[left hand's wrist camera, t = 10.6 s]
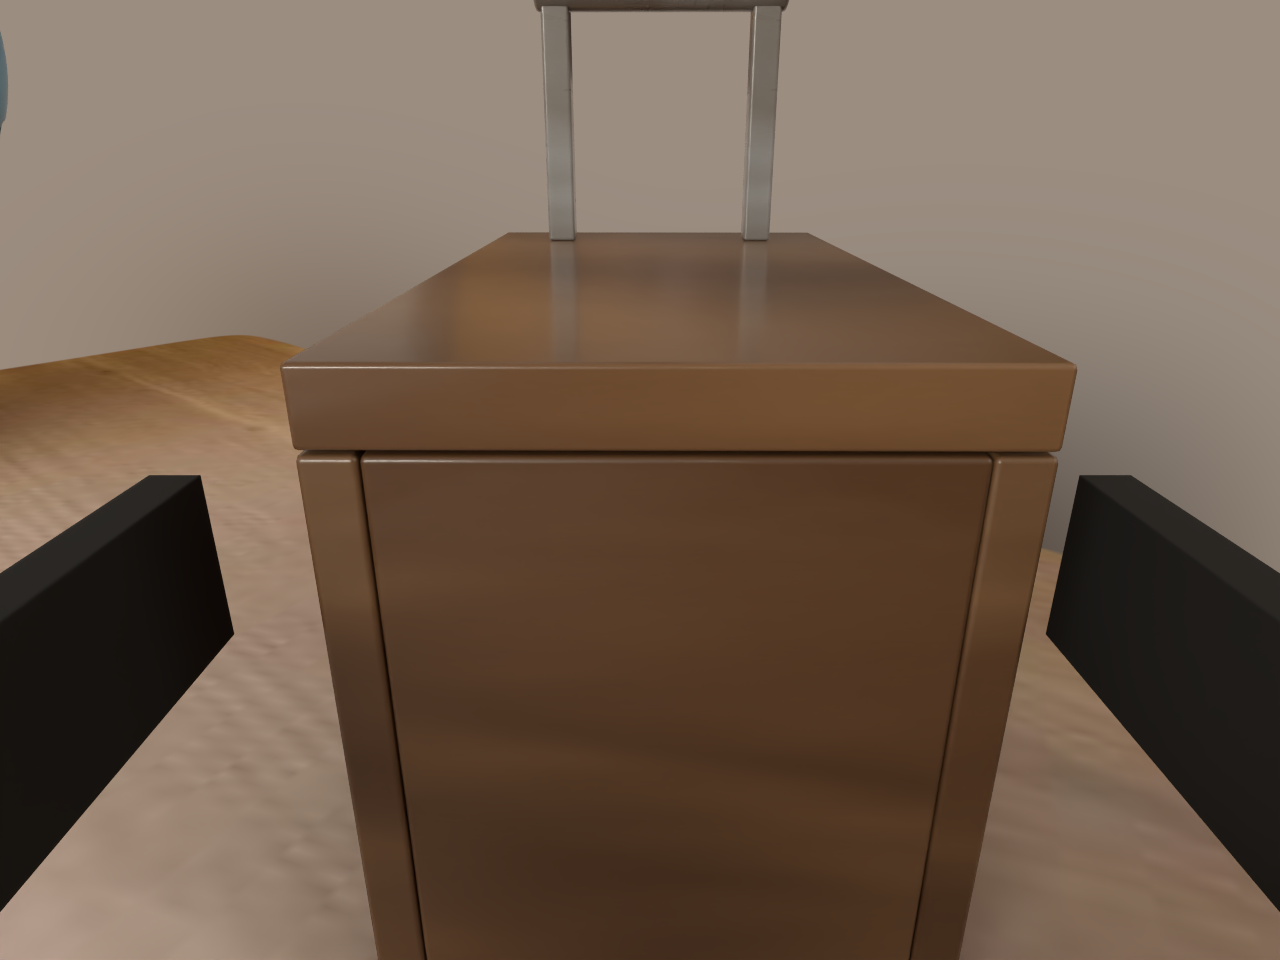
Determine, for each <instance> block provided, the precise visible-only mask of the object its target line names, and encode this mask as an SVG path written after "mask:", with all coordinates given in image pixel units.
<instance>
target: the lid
mask: <svg viewBox="0 0 1280 960" xmlns="http://www.w3.org/2000/svg"><path fill="white" fill-rule="evenodd" d="M788 2H789V0H534V4H535V7H536V10H537V11H538V12H541V32H542V58H543V83H544V109H545V134H546V160H547V186H548V211H549V233H507V234H505V235H503V236H502V237H500V238H498V239H497V240H495V241H493V242H491V243H490V244H488V245H486V246H484V247H483V248H481V249H479V250H478V251H476V252H474V253H472V254H470V255H469V256H467V257H465V258H464V259H462V260H460V261H458V262H457V263H455V264H453V265H451V266H450V267H448V268H446V269H444V270H443V271H441V272H439V273H438V274H436V275H434V276H432V277H431V278H429V279H427V280H425V281H424V282H422V283H420V284H418V285H417V286H415V287H413V288H411V289H410V290H408V291H406V292H405V293H403V294H401V295H399V296H398V297H396V298H394V299H392V300H391V301H389V302H387V303H385V304H384V305H382V306H380V307H378V308H377V309H375V310H373V311H372V312H370V313H368V314H366V315H365V316H363V317H361V318H359V319H358V320H356V321H354V322H352V323H351V324H349V325H347V326H346V327H344V328H342V329H340V330H339V331H337V332H335V333H333V334H332V335H330V336H328V337H327V338H325V339H323V340H321V341H320V342H318V343H316V344H314V345H313V346H311V347H309V348H307V349H306V350H304V351H302V352H300V353H299V354H297V355H295V356H293V357H292V358H290V359H288V360H286V361H285V362H283V363H282V364H281V367H280V370H281V376H282V382H283V388H284V394H285V400H286V406H287V412H288V418H289V424H290V430H291V436H292V443H293V447H294V448H295V449H297V450H466V451H907V452H1056V451H1060V449H1061V448H1062V444H1063V439H1064V434H1065V429H1066V424H1067V419H1068V414H1069V408H1070V404H1071V399H1072V394H1073V388H1074V384H1075V379H1076V374H1077V366H1076V364H1073V363H1072V362H1069V361H1067V360H1065V359H1063V358H1061V357H1059V356H1057V355H1055V354H1053V353H1051V352H1049V351H1047V350H1045V349H1043V348H1041V347H1039V346H1037V345H1035V344H1033V343H1031V342H1029V341H1027V340H1025V339H1023V338H1021V337H1019V336H1017V335H1015V334H1012V333H1010V332H1008V331H1006V330H1004V329H1002V328H1000V327H998V326H996V325H994V324H992V323H990V322H988V321H986V320H984V319H982V318H980V317H978V316H976V315H974V314H972V313H970V312H968V311H966V310H964V309H962V308H959V307H957V306H955V305H953V304H951V303H949V302H947V301H945V300H943V299H941V298H939V297H937V296H935V295H933V294H931V293H929V292H927V291H925V290H923V289H921V288H919V287H917V286H915V285H913V284H911V283H909V282H907V281H905V280H903V279H900V278H898V277H896V276H894V275H892V274H890V273H888V272H886V271H884V270H882V269H880V268H878V267H876V266H874V265H872V264H870V263H868V262H866V261H864V260H862V259H860V258H858V257H856V256H854V255H852V254H850V253H848V252H846V251H843V250H841V249H839V248H837V247H835V246H833V245H831V244H829V243H827V242H825V241H823V240H821V239H819V238H817V237H815V236H813V235H811V234H809V233H769V228H770V210H771V192H772V174H773V156H774V138H775V120H776V102H777V84H778V66H779V49H780V31H781V13H782V12H783V11H785V10H786V8H787V5H788ZM571 12H751V24H750V46H749V69H748V93H747V115H746V138H745V161H744V184H743V206H742V229H741V233H577V231H576V195H575V158H574V122H573V85H572V48H571Z"/></svg>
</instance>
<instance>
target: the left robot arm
mask: <svg viewBox="0 0 1280 960" xmlns="http://www.w3.org/2000/svg"><path fill="white" fill-rule="evenodd" d="M233 635H234V631H233V626H232V622H231V617H230V612H229V607H228V603H227V598H226V593H225V589H224V584H223V579H222V574H221V570H220V565H219V560H218V556H217V551H216V546H215V542H214V537H213V532H212V527H211V523H210V518H209V513H208V509H207V504H206V499H205V495H204V490H203V485H202V480H201V476H200V475H149V476H147V477H146V478H144V479H143V480H141V481H140V482H138V483H137V484H135V485H134V486H132V487H131V488H129V489H128V490H126V491H125V492H123V493H122V494H120V495H119V496H117V497H116V498H114V499H112V500H111V501H109V502H108V503H106V504H105V505H103V506H102V507H100V508H99V509H97V510H96V511H94V512H93V513H91V514H90V515H88V516H87V517H85V518H84V519H82V520H81V521H79V522H78V523H76V524H75V525H73V526H71V527H70V528H68V529H67V530H65V531H64V532H62V533H61V534H59V535H58V536H56V537H55V538H53V539H52V540H50V541H49V542H47V543H46V544H44V545H43V546H41V547H40V548H38V549H37V550H35V551H34V552H32V553H30V554H29V555H27V556H26V557H24V558H23V559H21V560H20V561H18V562H17V563H15V564H14V565H12V566H11V567H9V568H8V569H6V570H5V571H3V572H2V573H0V912H1V910H2V909H3V908H4V907H5V906H6V904H7V903H8V902H9V901H10V900H11V899H12V897H13V896H14V895H15V894H16V893H17V891H18V890H19V889H20V888H21V887H22V885H23V884H24V883H25V882H26V881H27V880H28V878H29V877H30V876H31V875H32V874H33V872H34V871H35V870H36V869H37V868H38V866H39V865H40V864H41V863H42V862H43V861H44V859H45V858H46V857H47V856H48V855H49V853H50V852H51V851H52V850H53V849H54V847H55V846H56V845H57V844H58V843H59V842H60V840H61V839H62V838H63V837H64V836H65V834H66V833H67V832H68V831H69V830H70V828H71V827H72V826H73V825H74V824H75V823H76V821H77V820H78V819H79V818H80V817H81V815H82V814H83V813H84V812H85V811H86V809H87V808H88V807H89V806H90V805H91V804H92V802H93V801H94V800H95V799H96V798H97V796H98V795H99V794H100V793H101V792H102V790H103V789H104V788H105V787H106V786H107V785H108V783H109V782H110V781H111V780H112V779H113V777H114V776H115V775H116V774H117V773H118V771H119V770H120V769H121V768H122V767H123V766H124V764H125V763H126V762H127V761H128V760H129V758H130V757H131V756H132V755H133V754H134V752H135V751H136V750H137V749H138V748H139V747H140V745H141V744H142V743H143V742H144V741H145V739H146V738H147V737H148V736H149V735H150V733H151V732H152V731H153V730H154V729H155V728H156V726H157V725H158V724H159V723H160V722H161V720H162V719H163V718H164V717H165V716H166V714H167V713H168V712H169V711H170V710H171V709H172V707H173V706H174V705H175V704H176V703H177V701H178V700H179V699H180V698H181V697H182V695H183V694H184V693H185V692H186V691H187V690H188V688H189V687H190V686H191V685H192V684H193V682H194V681H195V680H196V679H197V678H198V676H199V675H200V674H201V673H202V672H203V671H204V669H205V668H206V667H207V666H208V665H209V663H210V662H211V661H212V660H213V659H214V657H215V656H216V655H217V654H218V653H219V652H220V650H221V649H222V648H223V647H224V646H225V644H226V643H227V642H228V641H229V640H230V638H231V637H232V636H233ZM1046 635H1047V636H1048V637H1049V638H1050V640H1051V641H1052V642H1053V643H1054V644H1055V646H1056V647H1057V648H1058V649H1059V650H1060V652H1061V653H1062V654H1063V655H1064V656H1065V657H1066V659H1067V660H1068V661H1069V662H1070V663H1071V665H1072V666H1073V667H1074V668H1075V669H1076V671H1077V672H1078V673H1079V674H1080V675H1081V676H1082V678H1083V679H1084V680H1085V681H1086V682H1087V684H1088V685H1089V686H1090V687H1091V688H1092V690H1093V691H1094V692H1095V693H1096V694H1097V695H1098V697H1099V698H1100V699H1101V700H1102V701H1103V703H1104V704H1105V705H1106V706H1107V707H1108V709H1109V710H1110V711H1111V712H1112V713H1113V714H1114V716H1115V717H1116V718H1117V719H1118V720H1119V722H1120V723H1121V724H1122V725H1123V726H1124V728H1125V729H1126V730H1127V731H1128V732H1129V733H1130V735H1131V736H1132V737H1133V738H1134V739H1135V741H1136V742H1137V743H1138V744H1139V745H1140V747H1141V748H1142V749H1143V750H1144V751H1145V752H1146V754H1147V755H1148V756H1149V757H1150V758H1151V760H1152V761H1153V762H1154V763H1155V764H1156V766H1157V767H1158V768H1159V769H1160V770H1161V771H1162V773H1163V774H1164V775H1165V776H1166V777H1167V779H1168V780H1169V781H1170V782H1171V783H1172V785H1173V786H1174V787H1175V788H1176V789H1177V790H1178V792H1179V793H1180V794H1181V795H1182V796H1183V798H1184V799H1185V800H1186V801H1187V802H1188V804H1189V805H1190V806H1191V807H1192V808H1193V809H1194V811H1195V812H1196V813H1197V814H1198V815H1199V817H1200V818H1201V819H1202V820H1203V821H1204V823H1205V824H1206V825H1207V826H1208V827H1209V828H1210V830H1211V831H1212V832H1213V833H1214V834H1215V836H1216V837H1217V838H1218V839H1219V840H1220V842H1221V843H1222V844H1223V845H1224V846H1225V847H1226V849H1227V850H1228V851H1229V852H1230V853H1231V855H1232V856H1233V857H1234V858H1235V859H1236V861H1237V862H1238V863H1239V864H1240V865H1241V866H1242V868H1243V869H1244V870H1245V871H1246V872H1247V874H1248V875H1249V876H1250V877H1251V878H1252V880H1253V881H1254V882H1255V883H1256V884H1257V885H1258V887H1259V888H1260V889H1261V890H1262V891H1263V893H1264V894H1265V895H1266V896H1267V897H1268V899H1269V900H1270V901H1271V902H1272V903H1273V904H1274V906H1275V907H1276V908H1277V909H1278V910H1279V912H1280V573H1278V572H1277V571H1275V570H1274V569H1272V568H1271V567H1269V566H1268V565H1266V564H1265V563H1263V562H1262V561H1260V560H1259V559H1257V558H1256V557H1254V556H1253V555H1251V554H1250V553H1248V552H1246V551H1245V550H1243V549H1242V548H1240V547H1239V546H1237V545H1236V544H1234V543H1233V542H1231V541H1230V540H1228V539H1227V538H1225V537H1224V536H1222V535H1221V534H1219V533H1218V532H1216V531H1215V530H1213V529H1212V528H1210V527H1209V526H1207V525H1205V524H1204V523H1202V522H1201V521H1199V520H1198V519H1196V518H1195V517H1193V516H1192V515H1190V514H1189V513H1187V512H1186V511H1184V510H1183V509H1181V508H1180V507H1178V506H1177V505H1175V504H1174V503H1172V502H1171V501H1169V500H1168V499H1166V498H1164V497H1163V496H1161V495H1160V494H1158V493H1157V492H1155V491H1154V490H1152V489H1151V488H1149V487H1148V486H1146V485H1145V484H1143V483H1142V482H1140V481H1139V480H1137V479H1136V478H1134V477H1133V476H1131V475H1080V476H1079V480H1078V485H1077V490H1076V495H1075V499H1074V504H1073V509H1072V513H1071V518H1070V523H1069V528H1068V532H1067V537H1066V542H1065V546H1064V551H1063V556H1062V560H1061V565H1060V570H1059V574H1058V579H1057V584H1056V589H1055V593H1054V598H1053V603H1052V607H1051V612H1050V617H1049V622H1048V626H1047V631H1046Z"/></svg>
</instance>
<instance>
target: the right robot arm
mask: <svg viewBox="0 0 1280 960" xmlns="http://www.w3.org/2000/svg"><path fill="white" fill-rule="evenodd" d="M7 101H8V76H7V64H6V56H5V51H4V46H3V41H2V37H1V33H0V131H1V125H2V123H3V121H4V120H5V118H6V111H7Z"/></svg>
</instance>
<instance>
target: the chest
mask: <svg viewBox="0 0 1280 960" xmlns="http://www.w3.org/2000/svg"><path fill="white" fill-rule="evenodd" d="M296 462H297V469H298V475H299V481H300V487H301V493H302V499H303V505H304V511H305V517H306V523H307V529H308V536H309V542H310V548H311V554H312V560H313V566H314V572H315V578H316V584H317V590H318V596H319V602H320V609H321V615H322V621H323V627H324V633H325V639H326V645H327V651H328V657H329V663H330V669H331V675H332V682H333V688H334V694H335V700H336V706H337V712H338V718H339V724H340V730H341V736H342V742H343V748H344V755H345V761H346V767H347V773H348V779H349V785H350V791H351V797H352V803H353V809H354V815H355V821H356V828H357V834H358V840H359V846H360V852H361V858H362V864H363V870H364V876H365V882H366V888H367V894H368V901H369V907H370V913H371V919H372V925H373V931H374V937H375V943H376V949H377V955H378V960H959V956H960V951H961V946H962V941H963V936H964V931H965V926H966V921H967V916H968V911H969V906H970V901H971V896H972V891H973V886H974V881H975V876H976V871H977V866H978V861H979V856H980V851H981V846H982V841H983V836H984V831H985V826H986V821H987V816H988V811H989V806H990V801H991V796H992V791H993V786H994V781H995V776H996V771H997V766H998V761H999V756H1000V751H1001V746H1002V741H1003V736H1004V731H1005V726H1006V721H1007V716H1008V711H1009V706H1010V701H1011V696H1012V692H1013V687H1014V682H1015V677H1016V672H1017V667H1018V662H1019V657H1020V652H1021V647H1022V642H1023V637H1024V632H1025V627H1026V622H1027V617H1028V612H1029V607H1030V602H1031V597H1032V592H1033V587H1034V582H1035V577H1036V572H1037V567H1038V562H1039V557H1040V552H1041V547H1042V542H1043V537H1044V532H1045V527H1046V522H1047V517H1048V512H1049V507H1050V502H1051V497H1052V492H1053V487H1054V482H1055V477H1056V472H1057V467H1058V461H1057V458H1056V457H1055V456H1054V455H1053V454H1051V453H1050V452H907V451H466V450H304V451H303V452H302V453H300V454H299V455H298V457H297V461H296Z"/></svg>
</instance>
